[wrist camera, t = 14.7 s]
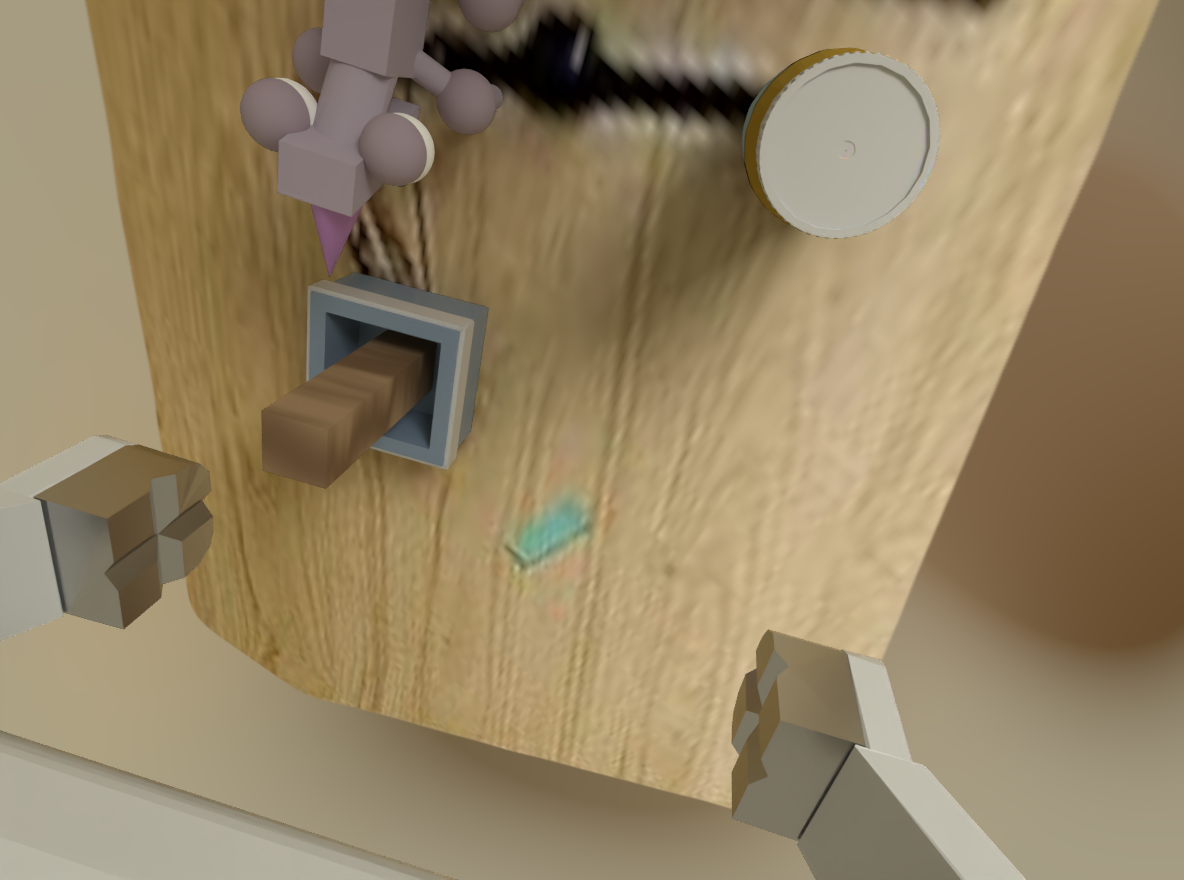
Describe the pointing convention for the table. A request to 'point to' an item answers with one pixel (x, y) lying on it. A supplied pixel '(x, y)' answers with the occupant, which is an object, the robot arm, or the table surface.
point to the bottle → (841, 142)
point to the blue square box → (376, 305)
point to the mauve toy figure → (365, 106)
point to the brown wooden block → (346, 408)
